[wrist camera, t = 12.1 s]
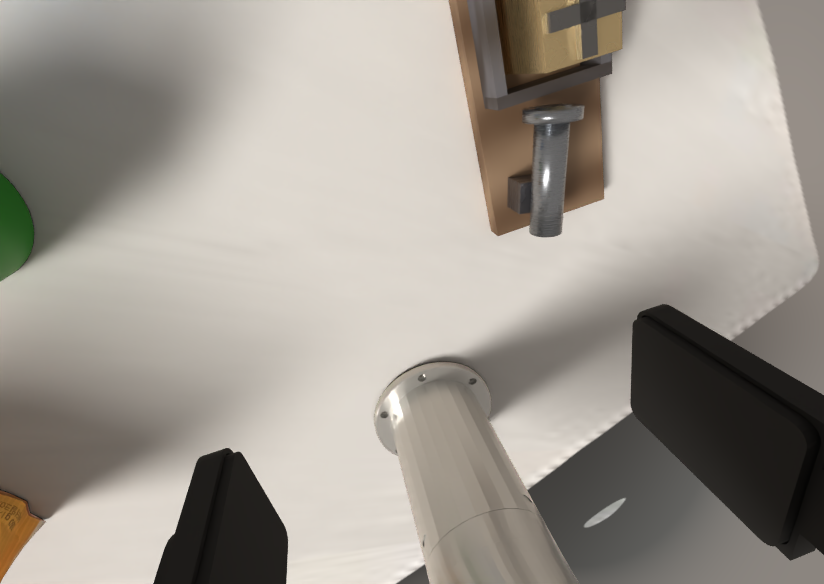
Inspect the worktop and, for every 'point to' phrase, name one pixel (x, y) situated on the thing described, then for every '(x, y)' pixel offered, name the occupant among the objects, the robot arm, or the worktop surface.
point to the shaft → (545, 168)
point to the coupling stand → (502, 114)
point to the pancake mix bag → (14, 528)
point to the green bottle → (13, 229)
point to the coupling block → (556, 32)
